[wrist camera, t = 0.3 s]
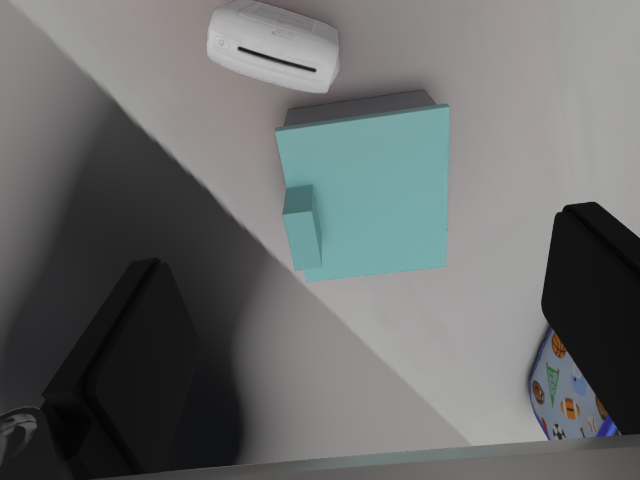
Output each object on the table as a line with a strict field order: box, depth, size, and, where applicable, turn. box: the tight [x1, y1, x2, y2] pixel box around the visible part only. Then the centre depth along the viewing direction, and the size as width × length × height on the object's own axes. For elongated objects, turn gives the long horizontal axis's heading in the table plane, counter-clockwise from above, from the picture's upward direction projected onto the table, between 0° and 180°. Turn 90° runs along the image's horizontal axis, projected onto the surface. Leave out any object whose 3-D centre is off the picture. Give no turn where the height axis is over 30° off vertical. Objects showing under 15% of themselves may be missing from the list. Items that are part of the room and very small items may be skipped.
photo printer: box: [207, 0, 340, 93], centre depth 35 cm, size 10×4×12 cm, turn 74°
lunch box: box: [529, 327, 621, 440], centre depth 52 cm, size 28×10×22 cm, turn 3°
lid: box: [275, 104, 450, 282], centre depth 40 cm, size 17×15×8 cm
